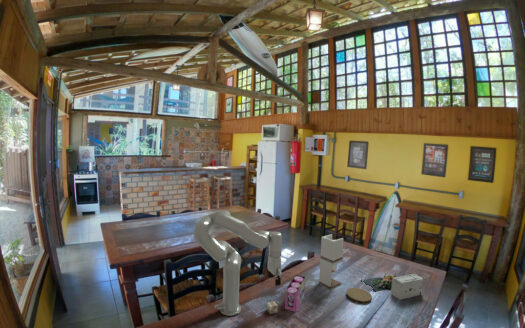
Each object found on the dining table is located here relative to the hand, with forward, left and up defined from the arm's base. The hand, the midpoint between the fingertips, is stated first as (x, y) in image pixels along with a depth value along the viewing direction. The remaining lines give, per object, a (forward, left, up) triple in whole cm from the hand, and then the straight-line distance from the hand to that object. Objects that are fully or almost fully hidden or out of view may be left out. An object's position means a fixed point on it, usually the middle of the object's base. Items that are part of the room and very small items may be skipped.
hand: (274, 281), depth 161 cm
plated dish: (+93, +1, -20) cm, 95 cm away
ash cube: (0, 0, -19) cm, 19 cm away
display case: (+53, +15, -19) cm, 58 cm away
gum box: (+17, +4, -19) cm, 26 cm away
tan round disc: (+61, -6, -19) cm, 64 cm away
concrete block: (+94, -15, -19) cm, 97 cm away
